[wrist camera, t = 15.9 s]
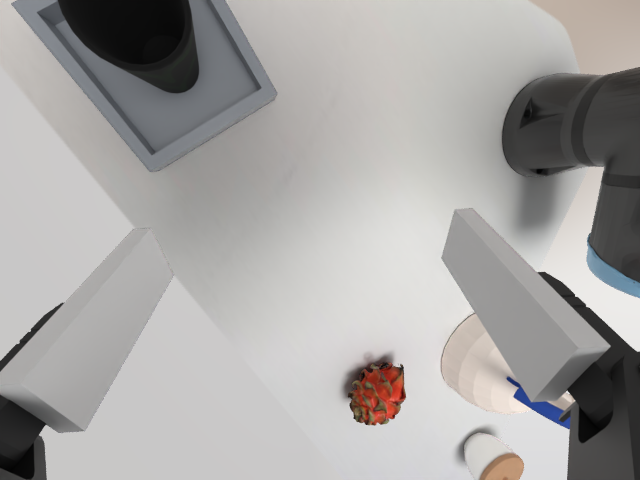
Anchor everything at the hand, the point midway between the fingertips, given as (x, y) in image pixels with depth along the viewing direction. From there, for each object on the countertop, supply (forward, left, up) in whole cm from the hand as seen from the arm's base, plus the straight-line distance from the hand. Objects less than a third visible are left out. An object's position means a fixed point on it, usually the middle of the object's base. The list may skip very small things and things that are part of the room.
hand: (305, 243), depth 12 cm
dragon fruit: (+3, +38, -25) cm, 46 cm away
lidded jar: (-8, +75, -25) cm, 79 cm away
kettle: (-19, +51, -26) cm, 60 cm away
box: (+1, -16, -25) cm, 30 cm away
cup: (+1, -16, -24) cm, 29 cm away
